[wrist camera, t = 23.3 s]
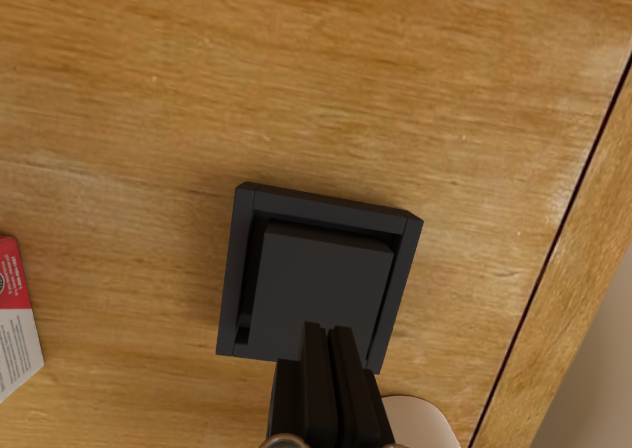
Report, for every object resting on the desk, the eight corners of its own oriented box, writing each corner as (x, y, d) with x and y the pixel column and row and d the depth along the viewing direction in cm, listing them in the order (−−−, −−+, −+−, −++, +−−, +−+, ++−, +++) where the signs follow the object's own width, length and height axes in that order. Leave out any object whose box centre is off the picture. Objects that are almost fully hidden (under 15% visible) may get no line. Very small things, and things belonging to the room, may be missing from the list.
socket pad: (408, 210, 17) (424, 220, 14) (370, 348, 19) (379, 375, 17) (244, 180, 16) (235, 186, 13) (225, 329, 18) (215, 355, 16)
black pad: (379, 236, 16) (394, 253, 14) (355, 330, 18) (364, 362, 15) (270, 217, 15) (264, 232, 13) (255, 317, 17) (247, 346, 14)
